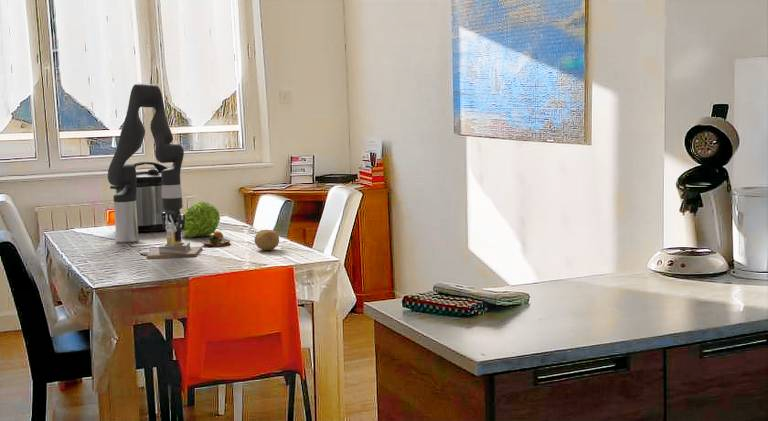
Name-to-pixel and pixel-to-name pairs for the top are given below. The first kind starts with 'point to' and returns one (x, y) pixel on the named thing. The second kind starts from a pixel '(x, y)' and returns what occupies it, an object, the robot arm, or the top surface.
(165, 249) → the brown board with frame
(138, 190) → the pressure cooker
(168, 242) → the supplement bottle
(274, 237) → the potato
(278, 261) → the top surface
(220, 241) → the floral bowl
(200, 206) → the lettuce
